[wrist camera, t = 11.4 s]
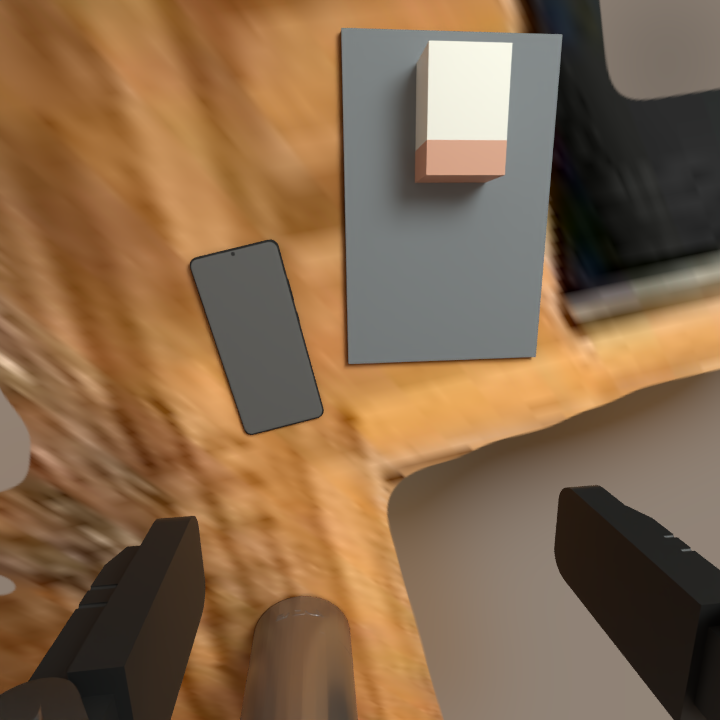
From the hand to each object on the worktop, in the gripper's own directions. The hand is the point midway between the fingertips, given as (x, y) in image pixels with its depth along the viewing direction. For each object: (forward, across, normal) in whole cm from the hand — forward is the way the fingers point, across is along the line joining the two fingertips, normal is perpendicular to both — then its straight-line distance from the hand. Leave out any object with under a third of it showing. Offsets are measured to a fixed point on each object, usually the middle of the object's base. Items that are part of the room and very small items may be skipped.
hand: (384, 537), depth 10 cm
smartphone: (+28, +6, +1) cm, 29 cm away
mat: (+27, -10, -9) cm, 30 cm away
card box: (+27, -10, -15) cm, 32 cm away
